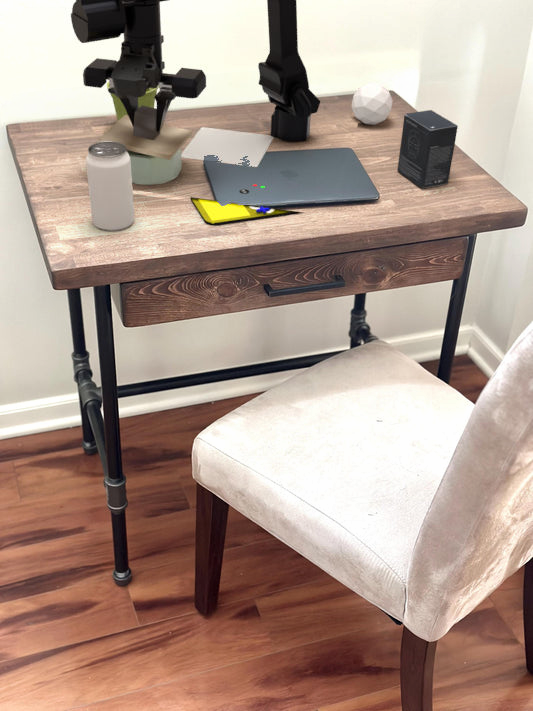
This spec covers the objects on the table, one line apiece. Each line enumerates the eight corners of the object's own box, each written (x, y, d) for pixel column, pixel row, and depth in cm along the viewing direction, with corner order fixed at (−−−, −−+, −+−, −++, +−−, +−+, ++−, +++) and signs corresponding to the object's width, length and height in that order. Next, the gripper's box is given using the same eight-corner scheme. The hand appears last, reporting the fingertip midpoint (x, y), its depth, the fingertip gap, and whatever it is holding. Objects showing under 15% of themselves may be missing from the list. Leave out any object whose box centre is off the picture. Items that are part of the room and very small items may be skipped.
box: (448, 184, 148) (459, 125, 142) (421, 190, 146) (430, 130, 140) (422, 166, 154) (431, 108, 148) (395, 171, 152) (403, 112, 146)
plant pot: (152, 142, 158) (150, 95, 153) (103, 136, 160) (99, 90, 155) (167, 123, 166) (165, 78, 161) (120, 117, 167) (116, 73, 162)
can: (93, 212, 136) (86, 139, 129) (135, 211, 137) (130, 139, 130) (90, 232, 131) (83, 158, 124) (133, 231, 132) (128, 158, 124)
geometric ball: (359, 137, 170) (337, 105, 166) (376, 111, 174) (355, 79, 170) (389, 129, 164) (367, 95, 160) (406, 102, 168) (385, 68, 164)
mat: (274, 140, 161) (274, 135, 160) (256, 171, 150) (256, 167, 149) (201, 131, 163) (201, 126, 163) (179, 161, 152) (179, 156, 152)
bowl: (186, 167, 150) (186, 137, 147) (168, 192, 142) (167, 161, 139) (132, 160, 152) (130, 130, 149) (111, 184, 144) (108, 153, 141)
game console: (208, 231, 134) (208, 223, 133) (187, 199, 142) (186, 191, 141) (315, 214, 139) (315, 206, 138) (288, 185, 148) (288, 177, 147)
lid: (191, 135, 148) (194, 107, 145) (169, 160, 138) (172, 131, 135) (124, 119, 149) (126, 92, 146) (98, 142, 139) (99, 114, 136)
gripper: (63, 42, 128) (74, 142, 138) (185, 55, 125) (187, 156, 135) (92, 20, 137) (100, 116, 146) (206, 32, 134) (207, 129, 143)
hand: (147, 129), depth 142 cm, fingers closed on lid, 3 cm apart
